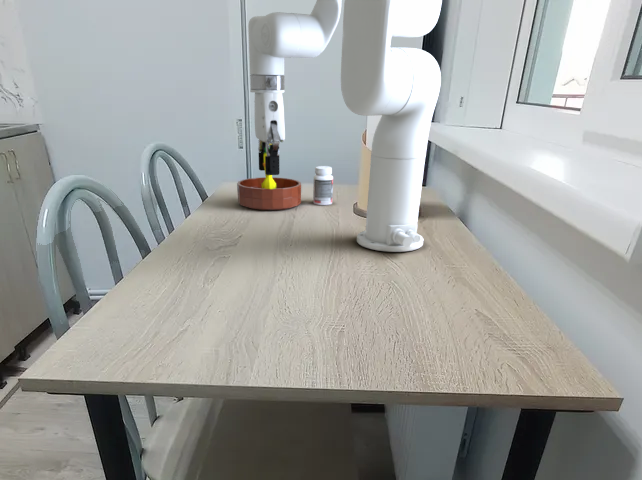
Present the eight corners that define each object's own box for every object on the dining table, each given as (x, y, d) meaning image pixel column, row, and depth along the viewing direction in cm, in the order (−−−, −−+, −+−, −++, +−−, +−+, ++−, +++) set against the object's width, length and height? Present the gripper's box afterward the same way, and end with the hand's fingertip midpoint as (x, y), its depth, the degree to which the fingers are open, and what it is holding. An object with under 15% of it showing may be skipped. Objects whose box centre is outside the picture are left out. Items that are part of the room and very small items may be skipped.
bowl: (308, 209, 124) (309, 187, 122) (245, 213, 120) (244, 190, 118) (290, 196, 137) (290, 176, 134) (232, 199, 133) (231, 178, 130)
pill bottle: (335, 204, 129) (337, 168, 125) (317, 206, 128) (318, 169, 123) (327, 200, 133) (328, 165, 129) (310, 202, 131) (310, 166, 127)
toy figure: (278, 203, 125) (276, 148, 120) (263, 203, 125) (261, 148, 120) (275, 199, 131) (274, 146, 126) (261, 199, 131) (259, 147, 126)
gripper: (295, 86, 109) (294, 178, 119) (273, 83, 123) (275, 166, 133) (259, 86, 107) (262, 179, 117) (242, 83, 121) (245, 167, 131)
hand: (269, 171), depth 125 cm, fingers open, 5 cm apart
